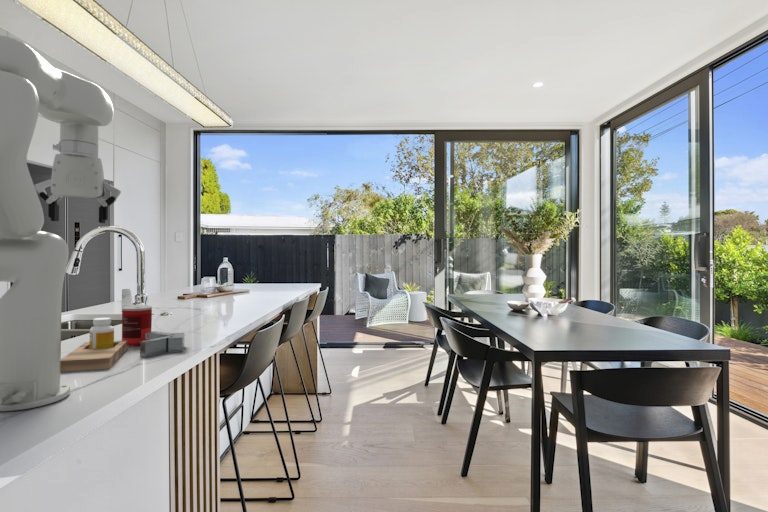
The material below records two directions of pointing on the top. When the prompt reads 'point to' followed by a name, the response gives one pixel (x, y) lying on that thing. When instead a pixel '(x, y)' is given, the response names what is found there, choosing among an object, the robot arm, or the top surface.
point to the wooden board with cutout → (92, 357)
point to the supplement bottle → (101, 334)
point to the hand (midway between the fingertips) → (78, 222)
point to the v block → (161, 343)
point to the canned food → (136, 324)
